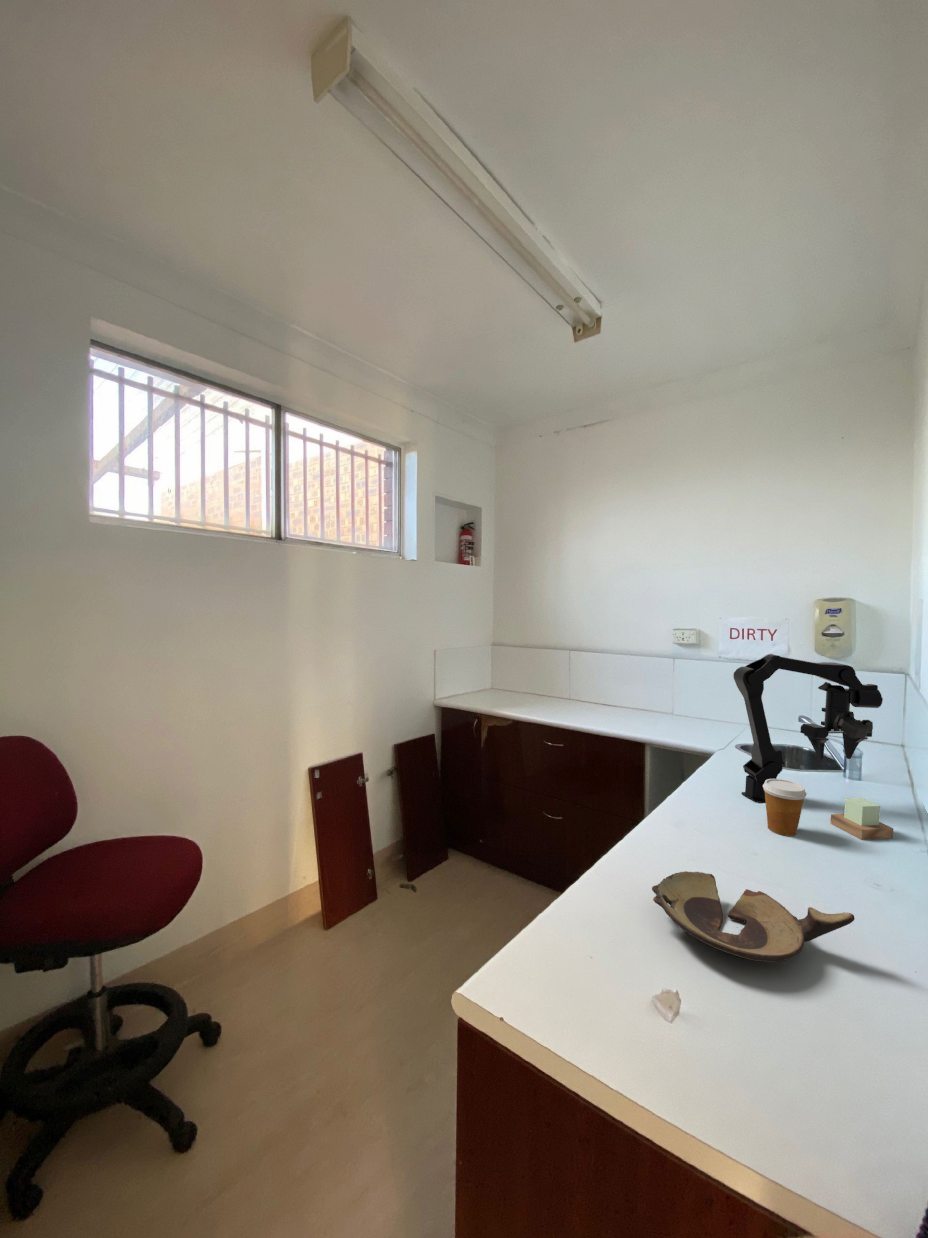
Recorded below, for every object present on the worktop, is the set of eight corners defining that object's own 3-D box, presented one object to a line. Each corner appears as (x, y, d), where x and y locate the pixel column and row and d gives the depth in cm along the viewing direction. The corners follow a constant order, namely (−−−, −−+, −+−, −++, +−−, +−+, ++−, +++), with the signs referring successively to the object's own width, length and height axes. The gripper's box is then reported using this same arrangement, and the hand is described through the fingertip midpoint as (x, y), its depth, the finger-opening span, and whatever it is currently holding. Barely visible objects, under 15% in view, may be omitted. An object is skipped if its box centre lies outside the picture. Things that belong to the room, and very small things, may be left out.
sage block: (861, 825, 128) (862, 806, 128) (844, 817, 133) (845, 798, 133) (878, 825, 129) (880, 805, 129) (860, 816, 134) (862, 798, 134)
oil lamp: (672, 881, 106) (673, 845, 106) (852, 945, 88) (855, 902, 87) (634, 936, 89) (636, 894, 88) (850, 1031, 70) (853, 977, 70)
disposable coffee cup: (761, 833, 128) (764, 787, 128) (759, 819, 137) (762, 775, 136) (806, 843, 124) (809, 795, 123) (801, 827, 132) (804, 782, 132)
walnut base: (861, 839, 126) (862, 830, 126) (830, 823, 135) (830, 814, 135) (892, 838, 127) (893, 828, 127) (860, 822, 136) (860, 813, 136)
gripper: (832, 713, 138) (829, 769, 139) (892, 712, 141) (888, 767, 142) (800, 704, 149) (797, 756, 150) (856, 703, 152) (852, 755, 153)
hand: (834, 759), depth 148 cm, fingers open, 9 cm apart
